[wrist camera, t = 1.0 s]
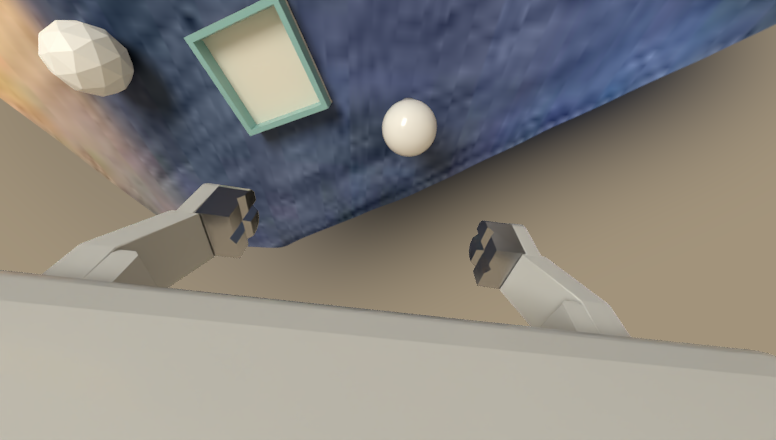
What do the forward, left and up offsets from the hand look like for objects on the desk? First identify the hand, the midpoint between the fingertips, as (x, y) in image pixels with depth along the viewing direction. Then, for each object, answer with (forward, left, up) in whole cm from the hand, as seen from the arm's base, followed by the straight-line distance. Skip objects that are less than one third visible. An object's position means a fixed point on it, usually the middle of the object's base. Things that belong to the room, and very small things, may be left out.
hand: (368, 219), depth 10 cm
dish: (+16, -3, -32) cm, 36 cm away
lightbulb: (0, +7, -32) cm, 33 cm away
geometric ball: (+34, -11, -32) cm, 48 cm away
